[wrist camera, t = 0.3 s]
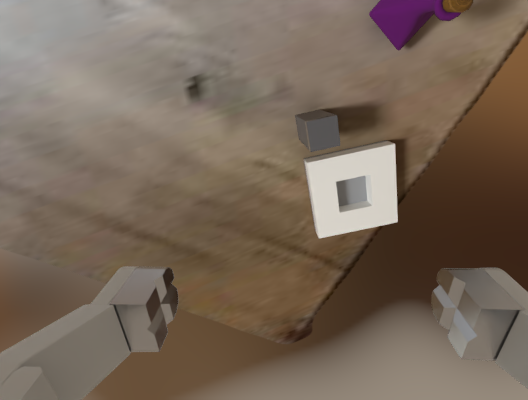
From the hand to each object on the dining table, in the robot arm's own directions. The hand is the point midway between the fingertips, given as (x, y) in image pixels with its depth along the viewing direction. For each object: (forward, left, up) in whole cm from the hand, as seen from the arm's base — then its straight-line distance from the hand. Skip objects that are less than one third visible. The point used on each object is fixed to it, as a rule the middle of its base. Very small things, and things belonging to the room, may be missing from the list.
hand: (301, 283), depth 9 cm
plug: (+2, +9, -45) cm, 46 cm away
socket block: (+16, +15, -45) cm, 50 cm away
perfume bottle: (-12, +25, -46) cm, 53 cm away
